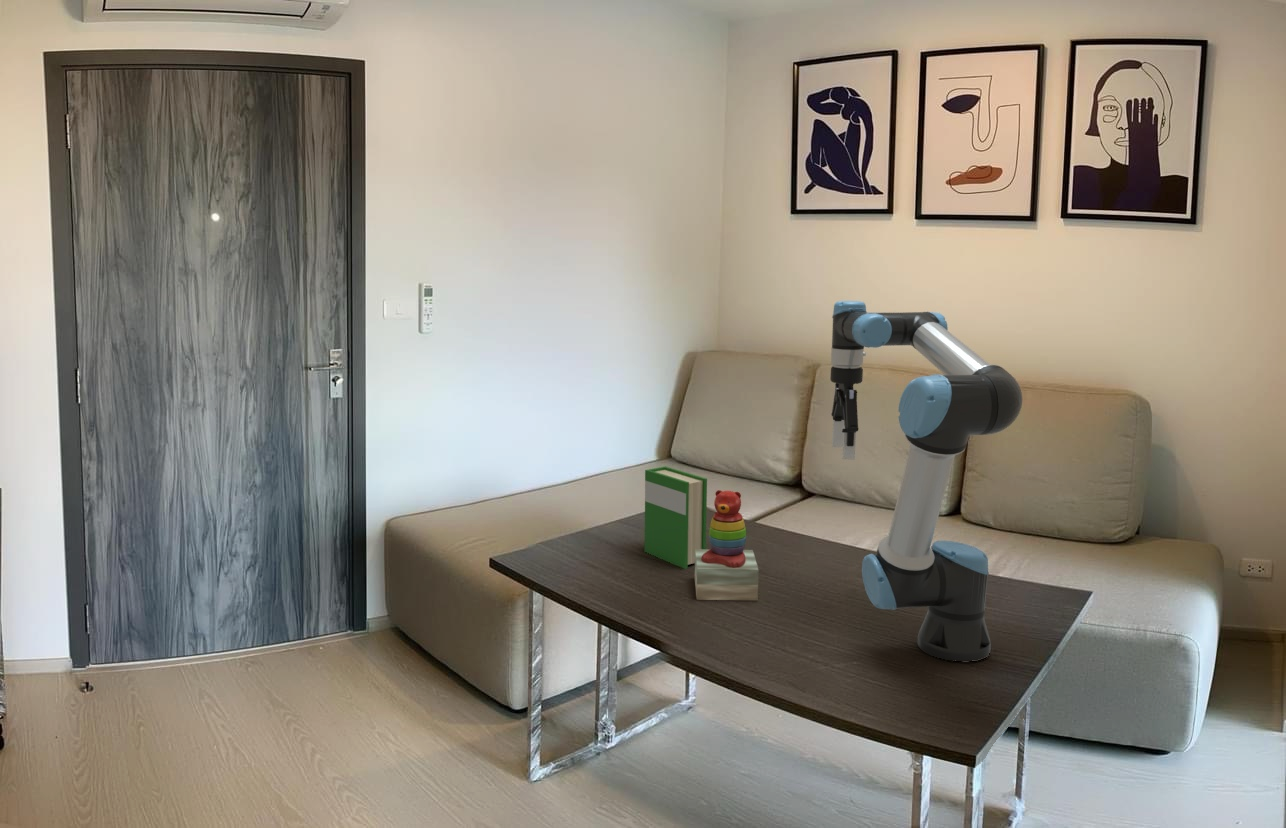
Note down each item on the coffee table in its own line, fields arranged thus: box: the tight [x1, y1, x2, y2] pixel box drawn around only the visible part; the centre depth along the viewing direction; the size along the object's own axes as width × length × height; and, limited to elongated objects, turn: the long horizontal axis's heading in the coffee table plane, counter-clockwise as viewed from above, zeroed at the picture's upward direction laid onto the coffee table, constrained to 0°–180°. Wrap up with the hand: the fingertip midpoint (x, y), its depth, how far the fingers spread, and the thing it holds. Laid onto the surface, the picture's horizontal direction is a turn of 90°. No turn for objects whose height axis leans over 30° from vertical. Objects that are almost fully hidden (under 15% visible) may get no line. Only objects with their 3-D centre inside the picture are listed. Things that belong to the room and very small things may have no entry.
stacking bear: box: [701, 489, 747, 568], centre depth 237 cm, size 11×10×18 cm
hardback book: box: [644, 466, 708, 570], centre depth 262 cm, size 18×7×24 cm, turn 38°
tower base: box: [694, 548, 760, 601], centre depth 240 cm, size 15×15×8 cm
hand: (842, 452), depth 230 cm, fingers open, 13 cm apart
